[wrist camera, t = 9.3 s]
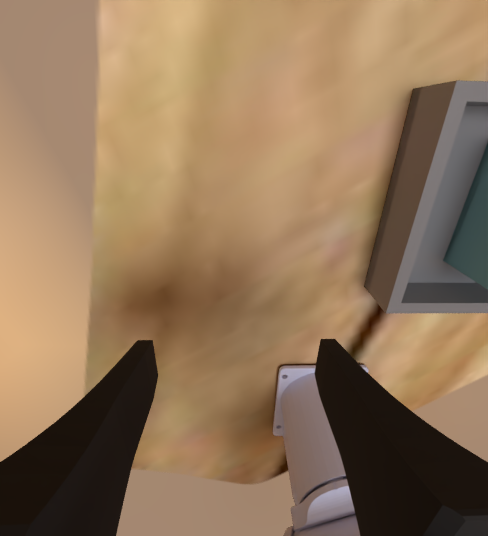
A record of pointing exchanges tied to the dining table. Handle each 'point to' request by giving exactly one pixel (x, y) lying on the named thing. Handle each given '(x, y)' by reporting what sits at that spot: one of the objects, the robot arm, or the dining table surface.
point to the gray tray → (430, 203)
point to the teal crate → (473, 230)
